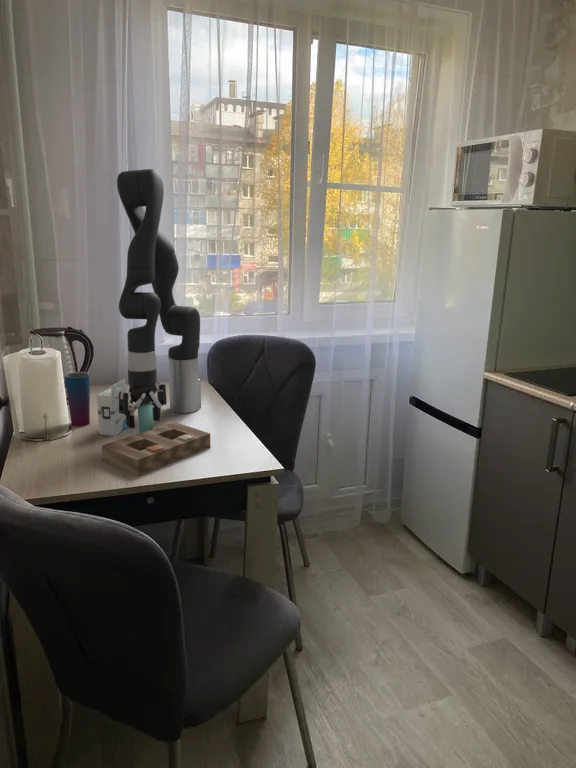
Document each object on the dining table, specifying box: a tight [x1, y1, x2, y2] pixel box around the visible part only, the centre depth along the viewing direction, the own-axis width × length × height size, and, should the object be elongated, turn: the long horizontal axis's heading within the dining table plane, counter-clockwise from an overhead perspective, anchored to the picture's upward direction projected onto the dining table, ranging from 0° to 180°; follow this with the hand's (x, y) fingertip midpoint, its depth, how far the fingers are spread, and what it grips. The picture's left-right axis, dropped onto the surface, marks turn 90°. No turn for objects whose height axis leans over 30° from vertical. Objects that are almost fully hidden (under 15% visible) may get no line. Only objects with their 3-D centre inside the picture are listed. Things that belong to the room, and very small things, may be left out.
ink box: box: [96, 378, 129, 437], centre depth 164 cm, size 9×5×15 cm, turn 168°
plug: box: [137, 403, 155, 434], centre depth 159 cm, size 4×4×10 cm
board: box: [101, 421, 211, 476], centre depth 149 cm, size 24×14×4 cm, turn 142°
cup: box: [64, 371, 91, 428], centre depth 169 cm, size 7×7×15 cm
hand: (144, 424), depth 159 cm, fingers open, 8 cm apart
